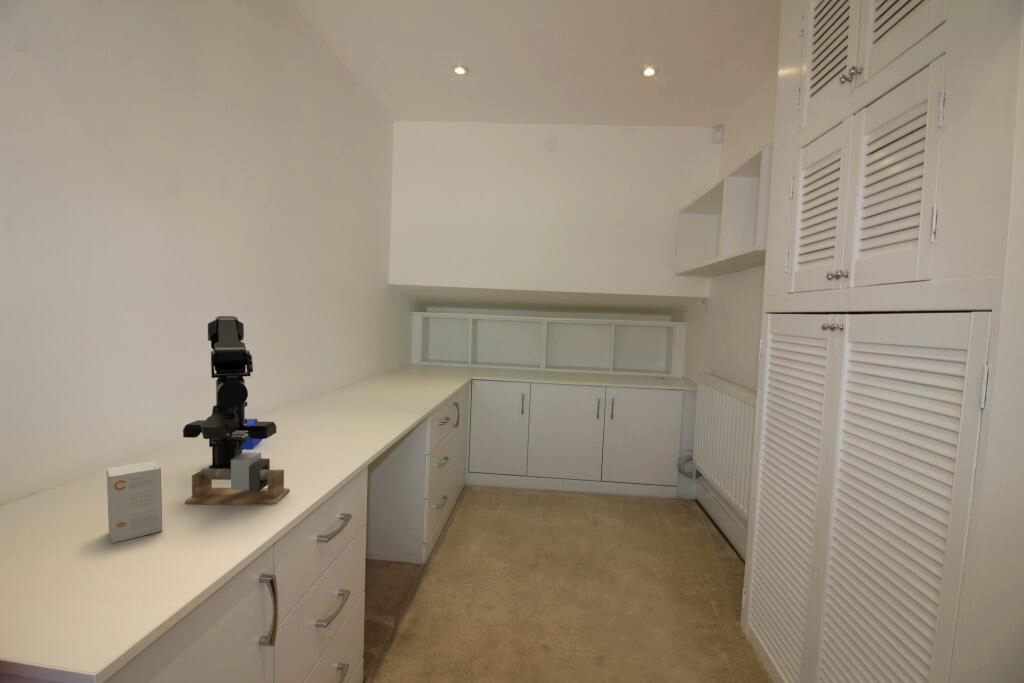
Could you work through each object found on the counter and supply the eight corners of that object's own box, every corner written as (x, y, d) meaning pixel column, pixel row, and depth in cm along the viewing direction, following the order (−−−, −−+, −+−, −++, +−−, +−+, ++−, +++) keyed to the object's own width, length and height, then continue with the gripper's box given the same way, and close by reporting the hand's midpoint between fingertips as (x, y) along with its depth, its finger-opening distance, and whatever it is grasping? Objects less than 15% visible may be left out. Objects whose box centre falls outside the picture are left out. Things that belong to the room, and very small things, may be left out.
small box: (158, 521, 102) (156, 459, 101) (163, 531, 97) (161, 467, 96) (107, 532, 96) (105, 467, 95) (110, 544, 92) (108, 476, 91)
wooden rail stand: (185, 503, 111) (184, 473, 110) (205, 490, 119) (205, 462, 118) (275, 504, 112) (274, 474, 111) (289, 491, 120) (289, 463, 119)
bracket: (252, 449, 153) (252, 421, 153) (223, 450, 151) (222, 422, 151) (267, 434, 171) (267, 409, 170) (240, 435, 169) (240, 409, 168)
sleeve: (231, 489, 112) (230, 459, 112) (244, 480, 118) (244, 452, 118) (249, 489, 112) (248, 460, 112) (261, 480, 118) (261, 452, 118)
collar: (249, 492, 112) (248, 466, 112) (261, 482, 118) (261, 458, 118) (257, 492, 112) (257, 466, 112) (269, 482, 118) (269, 458, 118)
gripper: (166, 405, 105) (167, 476, 106) (254, 407, 106) (255, 478, 107) (197, 396, 116) (198, 460, 117) (277, 398, 117) (277, 462, 118)
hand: (231, 465), depth 115 cm, fingers closed
